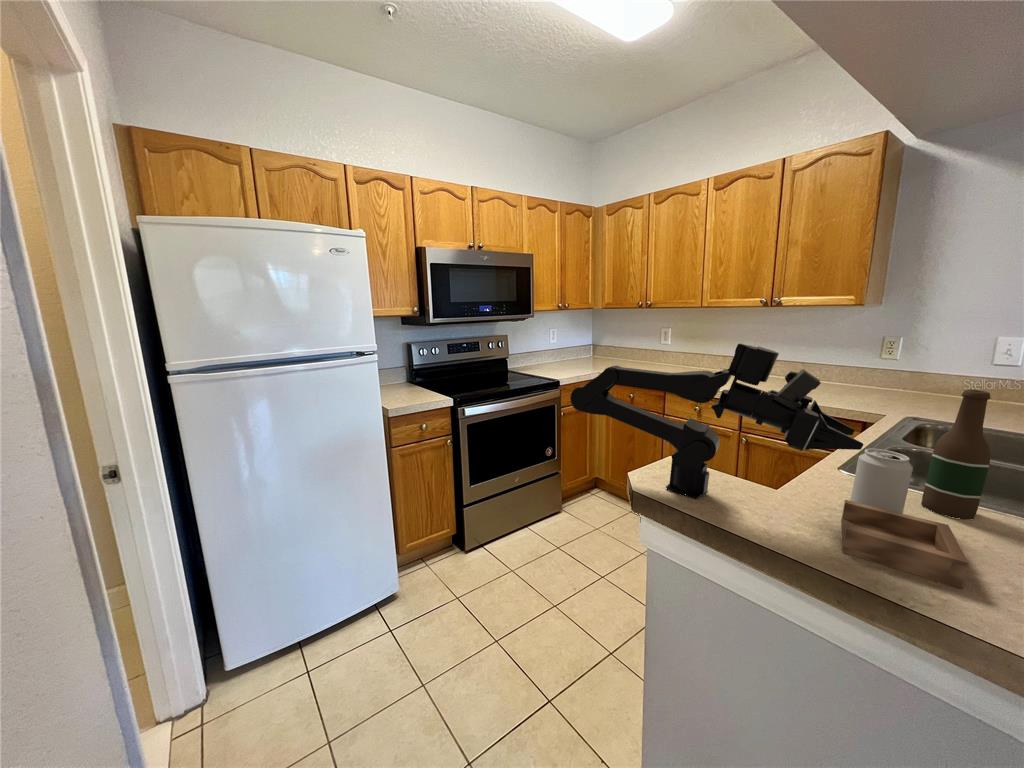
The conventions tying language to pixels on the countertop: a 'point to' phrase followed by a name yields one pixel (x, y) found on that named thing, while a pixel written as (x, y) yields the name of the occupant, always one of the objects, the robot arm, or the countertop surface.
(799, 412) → the robot arm
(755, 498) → the countertop surface
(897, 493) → the can
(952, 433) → the beer bottle
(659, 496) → the countertop surface
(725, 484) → the countertop surface
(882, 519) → the brown wooden square tray
